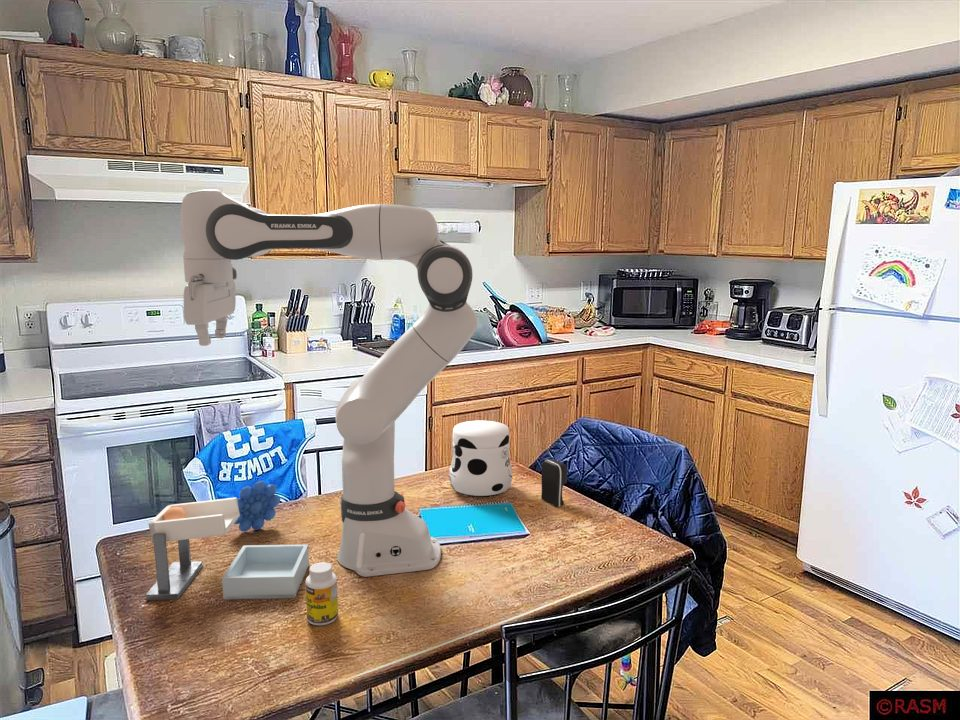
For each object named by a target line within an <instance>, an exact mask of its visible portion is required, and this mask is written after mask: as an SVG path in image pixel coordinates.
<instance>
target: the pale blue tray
mask: <svg viewBox="0 0 960 720" xmlns="http://www.w3.org/2000/svg"><path fill="white" fill-rule="evenodd" d="M309 550H310V549H309V544H257V545H256V544H254V545H253V544H252V545H251V544H250V545H248V544H247V545H242V547H241V548H240V550H239V551H238V553H237V554H236V556H235V558H234V559H233V560H232V561H231V564H230V565H229V566H228V568H227V569H226V570H225V573H224V574H223V575H222V577H221V582H222V583H221V584H222V596H223V598H222V599H223V600H256V599H257V600H261V599H262V600H264V599H265V600H266V599H267V600H269V599H270V600H271V599H272V600H273V599H275V600H276V599H295V598H296V597H297V594H298V591H299V589H300V587H301V585H300V584H302V582H303V579H304V578H305V575H306V573H307V571H308V569H309V565H310V552H309ZM303 577H304V578H303Z"/></svg>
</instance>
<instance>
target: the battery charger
mask: <svg viewBox="0 0 960 720" xmlns="http://www.w3.org/2000/svg"><path fill="white" fill-rule="evenodd" d="M567 483H568V468H567V465H566V464H565V463H563V462H562V461H559V460H557V459H554V458H553V459H552V458H551V459H545V460H544V461H543V462H541V495H540V496H541V497H540V499H541V500H542V501H544V502H546V503H548V504H549V505H552V506H554V507H555V508H560V507H562V506H564V505H565V502H564V499H563V488H564V485H565V484H567Z"/></svg>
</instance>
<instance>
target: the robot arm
mask: <svg viewBox="0 0 960 720" xmlns="http://www.w3.org/2000/svg"><path fill="white" fill-rule="evenodd" d="M180 208H181V209H180V231H181V234H180V235H181V238H182V240H183V244H184V251H183V256H182V257H183V260H182V261H183V272H184V283H187V285H185V286H184V290H183V319H184V322H185V324H186V325H188V326H190V325H191V326H194V329H195V332H196V334H197V336H198V344H199V346H201V347H202V346H204V347H206V346H209V345H211V343H212V341H211V338H212V337H211V335H210V334H209V333H210V332H209V330H208V329H209V323H212V322H213V321H215V329H214V336H215V338H216V339H224V338H226V336H227V332H226V331H227V330H226V329H227V326H228V325H227V324H228V316H230V315H233V314H234V313H235V309H236V293H237V292H236V282H235V281H236V280H237V279H238V272H237V269H236V268H235V267H234V266H233V264H232V260H234V261H235V260H237V261H239V260H242V259H245V258H252V257H253V258H255V257H259V256H263V255H266V254H267V253H269V252H271V251H272V250H298V249H299V250H304V249H306V250H307V249H308V250H309V249H311V250H319V251H324V252H330V253H334V254H338V255H342V256H346V257H349V258H350V257H351V258H356V259H362V260H370V261H371V260H375V261H382V260H383V261H394V260H395V261H396V260H398V261H405V262H407V263H410V264H412V265H413V266H414V267H415V268H416V270H417V272H416V273H417V280H418V284H419V287H420V288H421V291H422V293H423V294H424V295H425V297H426V299H427V301H428V303H429V304H428V306H427V308H426V310H425V311H424V312H423V313H422V315H421V316H420V317H419V318H417V320H416V321H415V322H414V323H412V325H411V326H409V328H408V329H407V330H406V331H405V332H404V333H402V335H400V337H399V338H398V339H397V340H396V341H395V342H394V343H392V344H391V345H390V347H388V349H387V350H386V351H385V352H384V353H383V354H382V355H381V356H380V357H379V358H378V359H377V361H376V362H375V363H374V364H372V365H371V367H370V368H369V369H368V370H367V371H366V372H365V374H364V375H363V376H361V377H359V378H357V379H355V380H354V381H353V382H351V383H350V385H349V386H348V387H347V388H346V390H345V392H344V394H343V395H342V397H341V399H340V400H339V402H338V403H337V406H336V409H335V423H336V428H337V430H338V433H339V434H340V436H341V437H342V438H343V443H342V455H341V477H342V479H341V480H342V481H341V482H342V494H341V497H340V517H341V522H342V531H341V539H340V545H339V550H338V554H337V555H336V556H337V561H338V563H339V564H340V565H341V566H343V567H344V568H346V569H349V570H352V571H354V572H356V573H357V575H359V576H361V577H364V578H365V577H375V576H383V575H392V574H401V573H408V572H409V573H412V572H418V571H419V572H420V571H427V570H432V569H433V568H435V567H437V565H438V564H439V563H440V560H441V558H442V557H441V554H442V550H441V549H442V548H441V544H440V542H439V541H438V539H436V538H435V537H434V536H431V535H430V530H429V527H428V525H427V522H426V521H425V520H424V519H423V518H421V517H419V515H416V514H414V513H413V512H412V511H410V510H409V509H407V508H406V503H405V497H404V493H403V491H401V494H400V493H399V492H397V491H396V490H395V487H396V486H395V433H396V432H395V431H396V429H395V427H396V426H395V425H396V421H397V420H398V418H400V416H401V415H402V414H403V413H404V412H405V411H406V410H407V408H408V407H409V406H410V405H411V404H412V403H413V402H414V400H415V399H416V398H417V397H418V396H419V395H420V393H421V392H422V391H423V390H424V389H425V388H426V387H427V386H428V385H429V384H430V383H431V382H432V381H433V380H434V379H435V378H436V377H437V376H438V375H439V374H440V373H441V372H442V371H443V370H444V369H445V368H446V367H447V366H448V365H449V364H450V363H451V362H452V361H453V360H454V359H455V358H456V357H457V356H458V354H459V353H460V352H461V351H463V349H464V348H465V347H466V345H467V343H469V341H470V340H471V338H472V337H473V335H474V333H476V331H477V328H478V318H477V315H476V313H475V311H474V309H473V308H472V307H471V306H470V305H469V303H468V302H467V300H468V296H469V292H470V290H471V286H472V282H473V267H472V263H471V261H470V258H469V257H468V256H467V254H466V253H464V252H463V250H461V249H459V248H458V247H455V246H452V245H450V244H448V243H446V242H445V241H443V240H441V239H440V237H439V230H438V229H439V228H438V224H437V220H436V219H435V217H434V215H433V214H432V213H431V212H430V211H429V210H427V209H425V208H421V207H417V206H412V205H411V206H410V205H403V204H395V203H394V204H393V203H392V204H391V203H390V204H388V203H370V204H362V205H360V204H359V205H355V206H349V207H345V208H344V207H343V208H341V209H336V210H332V211H328V212H323V213H317V214H269V213H268V212H266V211H264V210H263V209H259V208H257V207H253V206H250V205H247V204H245V203H243V202H240V201H238V200H236V199H234V198H232V197H230V196H229V195H227V194H226V193H224V191H222V190H219V189H214V188H213V189H212V188H211V189H201V190H196V191H195V190H194V191H191V192H190V193H187V194H186V195H185V196H184V197H183V198H182V201H181V207H180Z"/></svg>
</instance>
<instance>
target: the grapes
mask: <svg viewBox="0 0 960 720" xmlns="http://www.w3.org/2000/svg"><path fill="white" fill-rule="evenodd" d="M276 493H277V486H276V485H275V484H273V483H272V484H268V485H267V484H266V482H265V481H264V480H259V481H256V482H255V483H254V484H253V487H251V486H249V485H248V486H244V487H243V488H242V489H241V490H240V492H239V498H237V502H238V508H239V513H240V516H239V517H238V519H237V520H236V521H235V523H234V524H233V526H234V525H238V529H239V531H240V532H247V531H249V530H250V529H251V528H252V529H253V530H254V531H258V530H260V529H262V528H263V527H264V525H265V523H266V522H265V521H271V520H273V519H274V518H275V516H276V514H277V512H276V511H277V510H276V507H278V506H279V505H280V503H281V497H280V495H278V494H276Z"/></svg>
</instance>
